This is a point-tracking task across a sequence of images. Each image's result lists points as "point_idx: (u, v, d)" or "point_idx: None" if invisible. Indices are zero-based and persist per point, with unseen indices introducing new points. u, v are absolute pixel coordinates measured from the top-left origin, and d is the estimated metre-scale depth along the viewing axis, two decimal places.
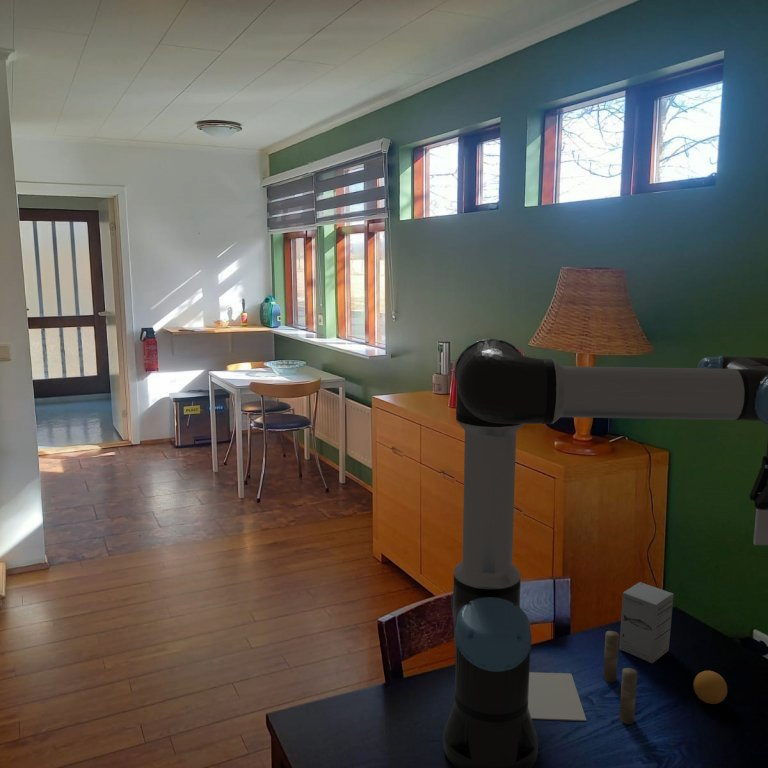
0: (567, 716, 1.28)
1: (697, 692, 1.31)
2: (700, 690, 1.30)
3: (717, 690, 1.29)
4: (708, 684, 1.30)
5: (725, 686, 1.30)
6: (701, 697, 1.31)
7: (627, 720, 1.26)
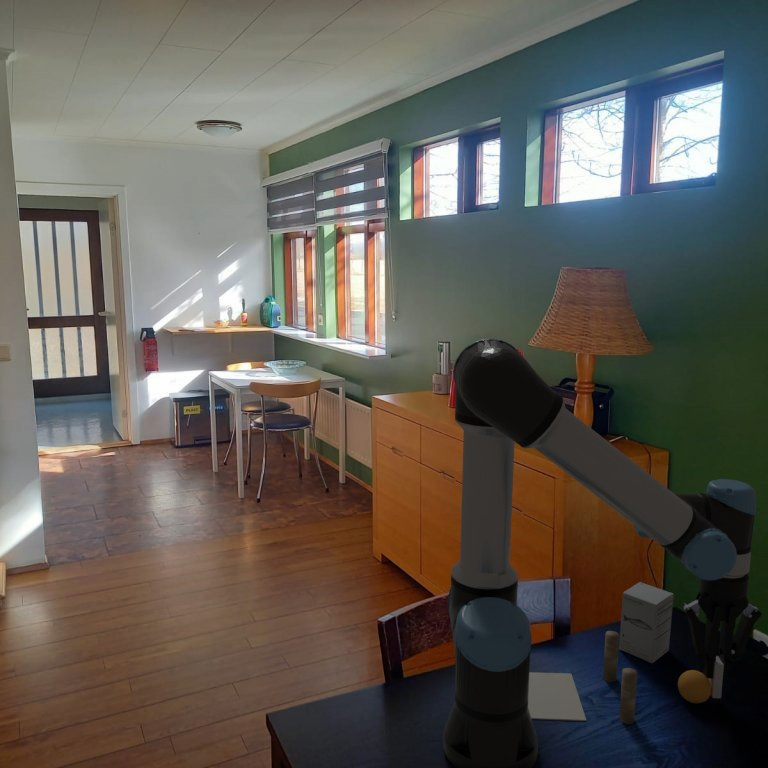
0: (567, 716, 1.28)
1: None
2: (685, 697, 1.31)
3: (697, 690, 1.29)
4: (687, 689, 1.30)
5: (703, 680, 1.30)
6: (691, 702, 1.31)
7: (627, 720, 1.26)
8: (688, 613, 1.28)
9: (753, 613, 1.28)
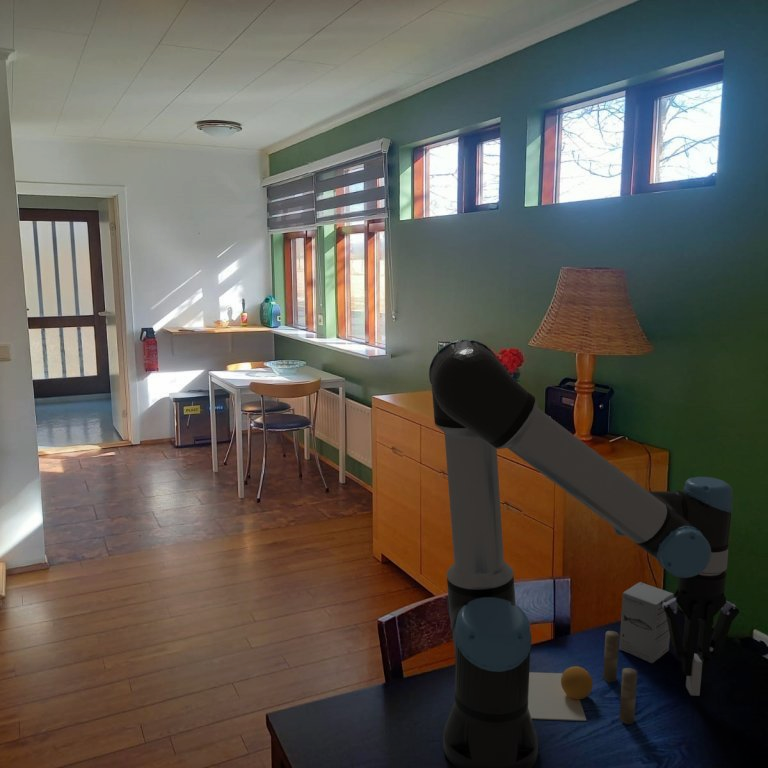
0: (567, 716, 1.28)
1: None
2: None
3: (573, 690, 1.31)
4: (570, 696, 1.32)
5: (569, 678, 1.32)
6: (586, 696, 1.32)
7: (627, 720, 1.26)
8: (666, 611, 1.28)
9: (731, 610, 1.28)
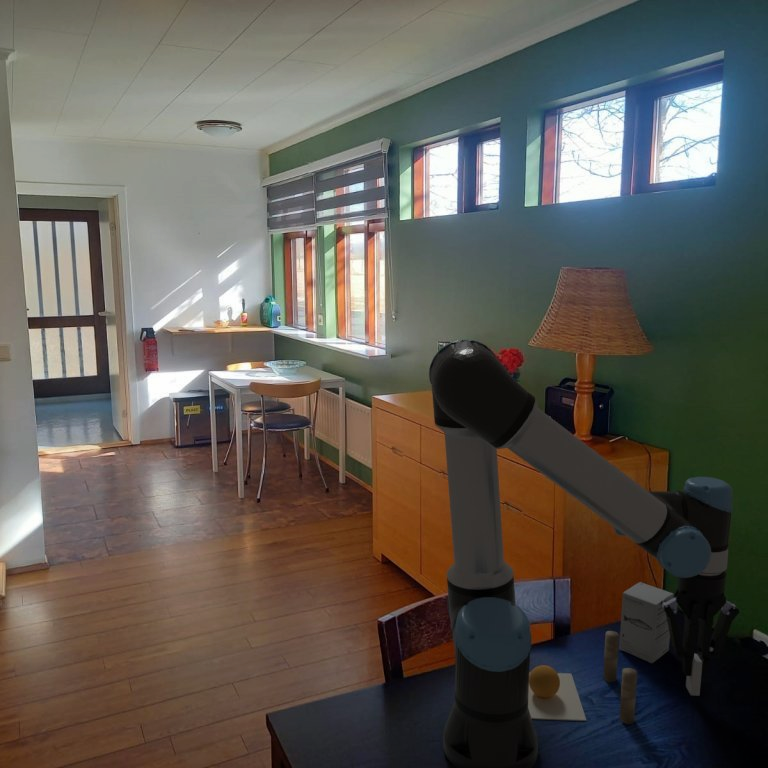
0: (567, 716, 1.28)
1: (553, 673, 1.32)
2: (555, 679, 1.32)
3: (549, 694, 1.31)
4: (556, 689, 1.32)
5: None
6: (549, 675, 1.32)
7: (627, 720, 1.26)
8: (666, 611, 1.28)
9: (731, 610, 1.28)
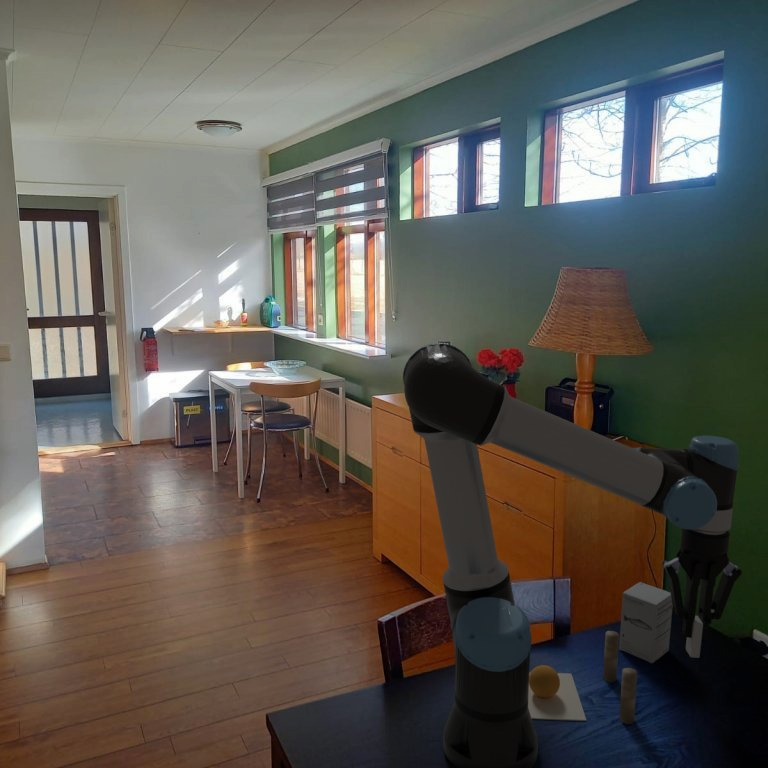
0: (567, 716, 1.28)
1: (553, 673, 1.32)
2: (555, 679, 1.32)
3: (549, 694, 1.31)
4: (556, 689, 1.32)
5: None
6: (549, 675, 1.32)
7: (627, 720, 1.26)
8: (668, 570, 1.27)
9: (733, 571, 1.26)
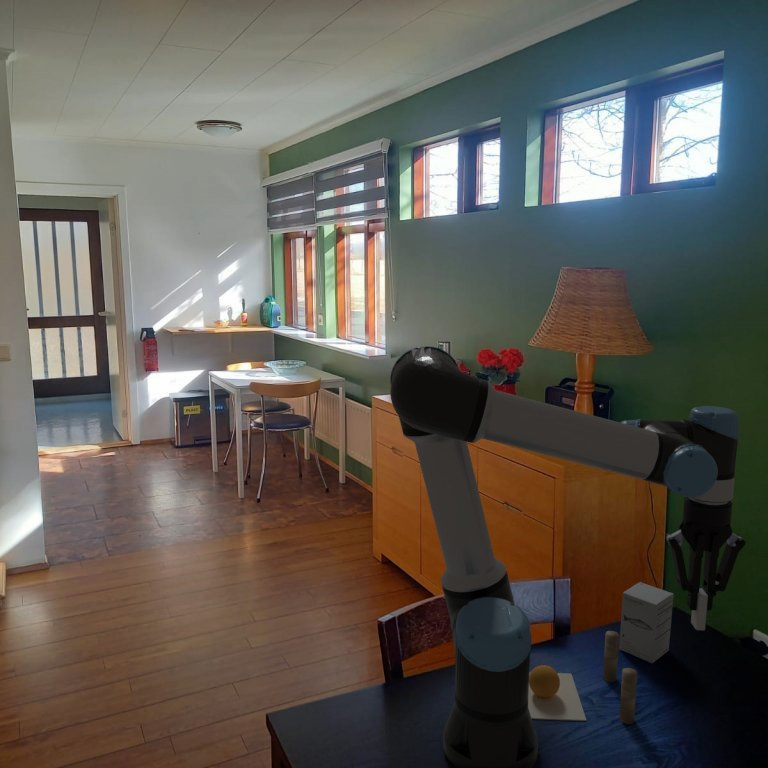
0: (567, 716, 1.28)
1: (553, 673, 1.32)
2: (555, 679, 1.32)
3: (549, 694, 1.31)
4: (556, 689, 1.32)
5: None
6: (549, 675, 1.32)
7: (627, 720, 1.26)
8: (671, 542, 1.26)
9: (737, 542, 1.26)
